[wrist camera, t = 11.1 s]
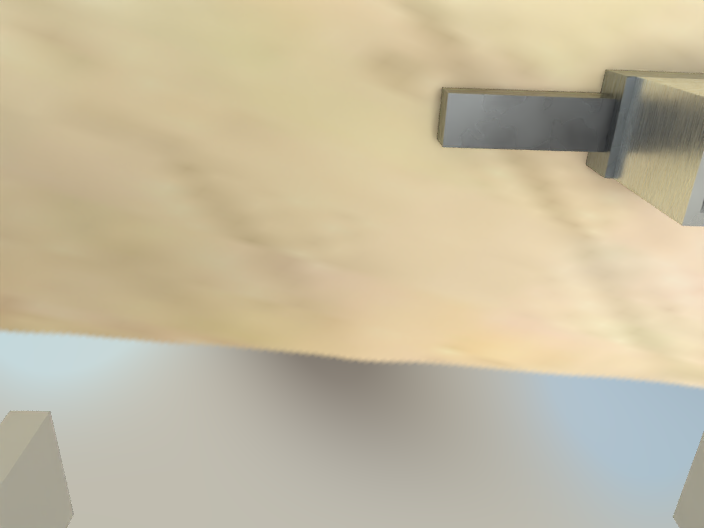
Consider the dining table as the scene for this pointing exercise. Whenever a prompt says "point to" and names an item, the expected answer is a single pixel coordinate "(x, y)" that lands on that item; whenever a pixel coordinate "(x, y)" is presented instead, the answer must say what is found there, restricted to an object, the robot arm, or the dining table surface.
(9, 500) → the robot arm
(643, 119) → the socket
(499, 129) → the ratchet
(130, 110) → the dining table surface
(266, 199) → the dining table surface
